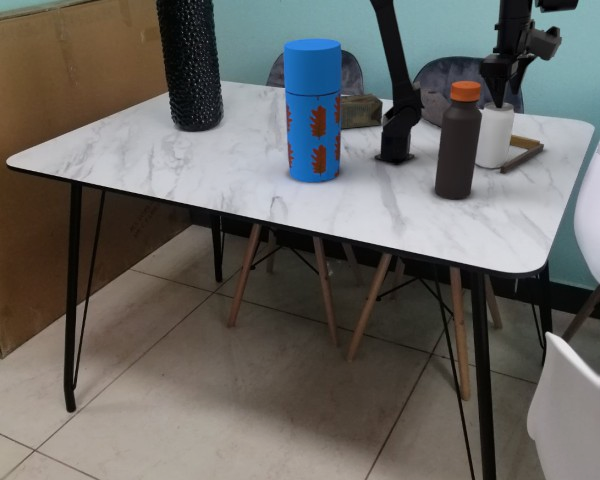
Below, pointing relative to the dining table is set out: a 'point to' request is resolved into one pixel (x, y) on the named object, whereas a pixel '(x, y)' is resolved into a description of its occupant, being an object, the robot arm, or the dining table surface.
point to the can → (494, 135)
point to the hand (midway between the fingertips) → (507, 101)
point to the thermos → (313, 108)
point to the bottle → (459, 141)
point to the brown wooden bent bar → (526, 143)
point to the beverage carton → (360, 110)
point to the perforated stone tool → (433, 106)
